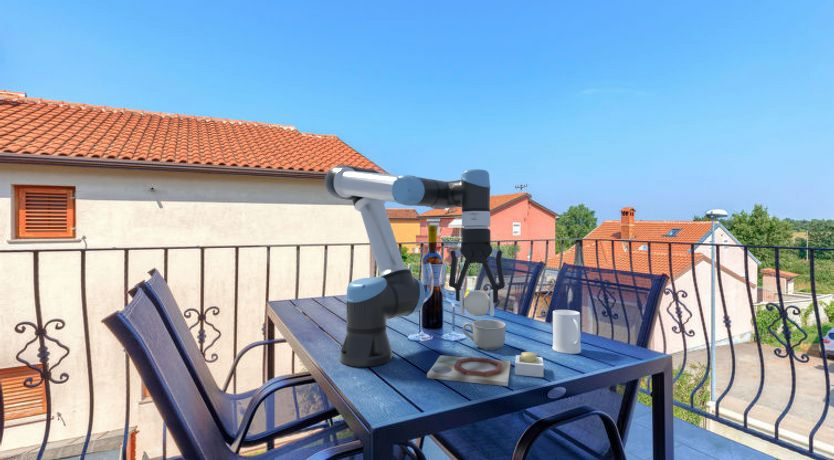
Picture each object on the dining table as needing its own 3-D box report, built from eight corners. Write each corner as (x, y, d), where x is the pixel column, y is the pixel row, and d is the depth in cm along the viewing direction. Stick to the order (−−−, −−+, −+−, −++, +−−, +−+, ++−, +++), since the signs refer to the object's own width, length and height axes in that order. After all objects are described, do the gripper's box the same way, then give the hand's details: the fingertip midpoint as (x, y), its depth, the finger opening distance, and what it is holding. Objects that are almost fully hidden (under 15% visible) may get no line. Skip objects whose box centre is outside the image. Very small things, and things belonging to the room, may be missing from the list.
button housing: (515, 374, 100) (515, 363, 100) (515, 365, 106) (515, 355, 106) (543, 377, 98) (543, 365, 98) (542, 368, 104) (542, 357, 105)
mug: (591, 357, 114) (591, 316, 114) (563, 357, 114) (562, 317, 114) (573, 346, 126) (573, 309, 126) (548, 346, 126) (547, 309, 126)
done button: (521, 361, 101) (521, 355, 101) (521, 357, 105) (521, 351, 105) (537, 363, 100) (537, 356, 100) (536, 358, 104) (536, 352, 104)
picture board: (426, 377, 97) (426, 370, 98) (440, 358, 113) (440, 352, 113) (507, 386, 92) (507, 378, 92) (510, 364, 107) (510, 358, 107)
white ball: (467, 312, 106) (466, 288, 106) (493, 314, 103) (493, 289, 103) (459, 317, 100) (459, 291, 100) (487, 319, 97) (487, 292, 97)
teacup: (509, 345, 127) (508, 320, 127) (501, 354, 117) (501, 327, 117) (468, 340, 133) (468, 317, 133) (458, 348, 123) (458, 323, 123)
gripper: (435, 228, 102) (436, 315, 101) (514, 227, 96) (515, 319, 95) (442, 229, 109) (443, 310, 108) (515, 228, 103) (516, 313, 102)
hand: (476, 314), depth 102 cm, fingers closed on white ball, 7 cm apart
